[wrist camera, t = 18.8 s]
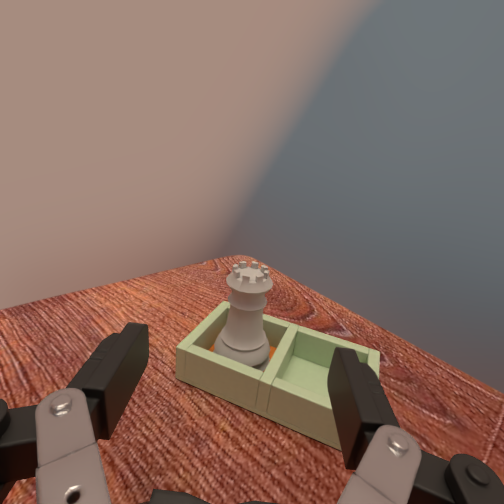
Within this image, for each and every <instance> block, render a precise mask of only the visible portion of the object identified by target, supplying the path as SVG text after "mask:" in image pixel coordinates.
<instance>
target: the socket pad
mask: <svg viewBox="0 0 504 504" xmlns="http://www.w3.org/2000/svg"><path fill="white" fill-rule="evenodd" d="M229 311H230V303H228V302H225V301H223V302H222V303H221V304H220V305H219V306H218V307H217V308H216V309H215V310H213V311H212V312H211V313H210V314H209V315H208V316H207V317H206V318H205V319H204V320H203V321H202V322H201V323H200V324H199V325H198V326H197V327H196V328H195V329H194V330H193V331H192V332H191V333H190V334H189V335H188V336H187V337H186V338H185V339H184V340H183V341H181V342H180V343H179V344H178V345H177V346H176V378H177V379H179V380H181V381H183V382H186V383H188V384H190V385H192V386H195V387H197V388H199V389H202V390H204V391H206V392H208V393H211V394H213V395H215V396H217V397H220V398H222V399H224V400H227V401H229V402H231V403H233V404H236V405H238V406H240V407H242V408H245V409H247V410H249V411H252V412H254V413H256V414H258V415H261V416H263V417H265V418H267V419H270V420H272V421H274V422H276V423H279V424H281V425H283V426H286V427H288V428H290V429H292V430H295V431H297V432H299V433H301V434H304V435H306V436H308V437H311V438H313V439H315V440H317V441H320V442H322V443H324V444H326V445H329V446H331V447H333V448H336V449H338V450H340V451H342V450H341V446H340V441H339V437H338V433H337V428H336V424H335V420H334V415H333V411H332V406H331V402H330V398H329V393H328V388H327V377H328V372H329V368H330V364H331V361H332V357H333V353H334V350H335V348H336V347H342V348H350V349H355V351H356V353H357V356H358V358H359V361H360V362H362V363H367V364H368V365H369V366H370V367H371V368H372V369H373V370H374V371H375V372H376V374H377V377H378V379H379V361H380V352H379V351H376V350H373V349H369V348H367V347H364V346H361V345H358V344H355V343H351V342H348V341H345V340H342V339H339V338H336V337H333V336H330V335H327V334H324V333H321V332H317V331H314V330H311V329H308V328H305V327H302V326H299V325H296V324H293V323H290V322H287V321H284V320H281V319H278V318H274V317H271V316H268V315H265V314H263V330H264V331H265V334H266V338H267V339H268V342H269V345H270V353H269V358H270V360H269V364H268V365H267V367H266V369H265V370H264V371H263V372H262V371H260V370H257V369H254V368H252V367H249V366H247V365H244V364H242V363H239V362H236V361H234V360H231V359H229V358H226V357H224V356H221V355H219V354H216V353H213V351H214V349H215V348H214V343H215V340H216V338H217V337H218V335H219V333H220V332H221V331H222V329H223V327H224V326H226V323H227V319H228V315H229Z"/></svg>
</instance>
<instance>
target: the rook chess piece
mask: <svg viewBox="0 0 504 504" xmlns="http://www.w3.org/2000/svg"><path fill="white" fill-rule="evenodd" d="M258 264H259V263H258V262H253V261H252V266H251V267H246V261H242V262H239V268H238V265H237V264H234V266H233V269H232V272H231V273H230V274H229V276H228V277H227V278H226V280H227V284H228V285H229V287H230V288H231V289H232V293H231V294H230V295H229V297H228V302H229V303H230V311H229V315H228V319H227V323H226V326H224V327H223V329H222V331H221V332H220V333H219V335H218V337H217V338H216V340H215V343H214V348H215V349H214V351H213V353H216V354H219V355H221V356H224V357H226V358H229V359H231V360H234V361H236V362H239V363H242V364H244V365H247V366H249V367H252V368H254V369H257V370H260V371H262V372H263V371H264V370H265V369H266V367H267V365H268V364H269V360H270V358H269V353H270V345H269V342H268V339H267V338H266V334H265V331H264V330H263V308H264V307H265V306H266V304H267V300H266V298H265V293H266V292H268V291H269V290H270V289H271V288H272V285H273V283H272V280H271V278H270V277H269V271H268V267H266V266H265V265H262V266H261V269H258Z"/></svg>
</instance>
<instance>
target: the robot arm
mask: <svg viewBox="0 0 504 504" xmlns="http://www.w3.org/2000/svg"><path fill="white" fill-rule="evenodd" d="M148 358H149V336H148V325H147V324H140V323H132V322H129V323H128V324H127V325H126V326H125V328H124V329H123V330H122V332H121V333H120V334H119V333H113V334H111V335H110V336H108V337H107V338H105V339H104V340H102V342H101V343H100V344H99V346H98V347H97V348H96V350H95V351H94V352H93V353H92V355H91V356H90V358H89V359H88V360H87V361H86V362H85V364H84V365H83V366H82V368H81V369H80V370H79V371H78V373H77V374H76V375H75V377H74V378H73V379H72V381H71V382H70V383H69V384H68V386H67V387H66V388H65V389H61V390H58V391H55V392H53V393H51V394H49V395H48V396H46V397H45V398H44V399H43V400H42V401H41V402H40V403H39V404H38V405H33V406H27V407H20V408H13V409H8V406H7V403H6V402H5V401H4V400H3V399H0V504H2V503H3V501H4V499H5V498H6V496H7V495H8V493H9V492H10V490H11V489H12V487H13V486H14V484H15V483H16V481H17V480H22V479H26V478H31V477H36V495H37V504H111V500H110V496H109V491H108V487H107V483H106V478H105V474H104V470H103V465H102V461H101V457H100V452H99V448H98V444H97V441H98V439H104V440H109V439H110V437H111V435H112V433H113V432H114V430H115V428H116V426H117V424H118V422H119V420H120V418H121V416H122V414H123V412H124V410H125V408H126V406H127V404H128V402H129V400H130V398H131V396H132V394H133V392H134V390H135V388H136V386H137V384H138V382H139V380H140V378H141V376H142V374H143V372H144V370H145V368H146V366H147V362H148ZM380 384H381V383H380V381H379V379H378V377H377V374H376V372H375V371H374V370H373V369H372V368H371V367H370V366H369V365H368V364H367V363H362V362H360V361H359V358H358V356H357V353H356V351H355V349H350V348H342V347H336V348H335V350H334V353H333V357H332V361H331V364H330V368H329V372H328V377H327V388H328V393H329V398H330V402H331V406H332V411H333V415H334V420H335V424H336V428H337V433H338V437H339V441H340V446H341V450H342V454H343V459H344V463H345V467H346V469H350V470H356V471H355V472H353V474H352V475H351V477H350V479H349V481H348V483H347V485H346V487H345V489H344V491H343V492H342V494H341V496H340V498H339V500H338V502H337V504H504V485H503V484H502V482H501V480H500V479H499V477H498V476H497V475H496V474H495V472H494V471H493V470H492V469H491V468H489V467H488V466H487V465H486V464H485V463H483V462H482V461H480V460H478V459H477V458H475V457H473V456H470V455H467V454H456V455H454V456H453V457H452V458H451V460H450V462H449V461H447V460H444V459H442V458H439V457H437V456H434V455H432V454H429V453H427V452H425V451H423V450H421V449H420V447H419V445H418V444H417V442H416V441H415V439H414V438H413V437H412V436H411V435H410V434H408V433H407V432H406V431H404V430H402V429H401V428H400V426H399V424H398V422H397V419H396V417H395V415H394V413H393V410H392V408H391V406H390V404H389V401H388V399H387V397H386V395H385V394H384V393H385V392H384V390H383V388H382V386H381V385H380ZM140 504H210V503H208V502H206V501H204V500H201V499H199V498H197V497H195V496H192V495H190V494H188V493H184V492H175V491H167V490H158V489H153V492H152V495H151V498H150V501H147V502H143V503H140ZM240 504H277V503H269V502H260V501H250V502H245V503H240Z"/></svg>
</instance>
